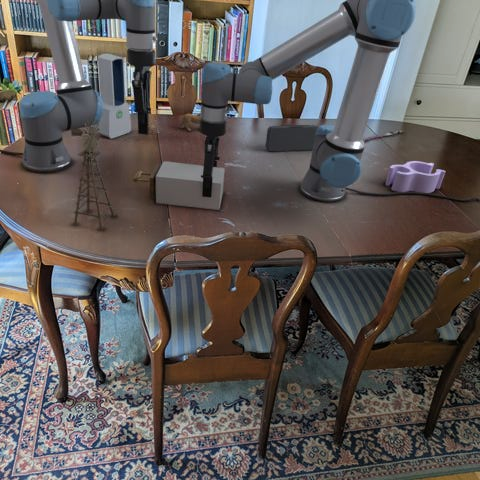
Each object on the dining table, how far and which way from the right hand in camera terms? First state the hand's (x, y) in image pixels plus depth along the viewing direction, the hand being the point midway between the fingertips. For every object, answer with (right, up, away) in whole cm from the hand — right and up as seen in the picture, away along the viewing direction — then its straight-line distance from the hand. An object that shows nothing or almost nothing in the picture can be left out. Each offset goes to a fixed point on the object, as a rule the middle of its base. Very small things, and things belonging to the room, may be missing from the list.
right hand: (209, 187), depth 146 cm
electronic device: (-41, +27, +43) cm, 65 cm away
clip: (+73, +3, +26) cm, 77 cm away
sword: (+75, +31, +68) cm, 106 cm away
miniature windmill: (-32, -11, -14) cm, 36 cm away
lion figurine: (-9, +31, +55) cm, 64 cm away
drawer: (-12, -2, +2) cm, 12 cm away
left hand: (-19, +15, -8) cm, 26 cm away
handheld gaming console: (+31, +21, +45) cm, 58 cm away
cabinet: (-6, -3, +3) cm, 7 cm away
